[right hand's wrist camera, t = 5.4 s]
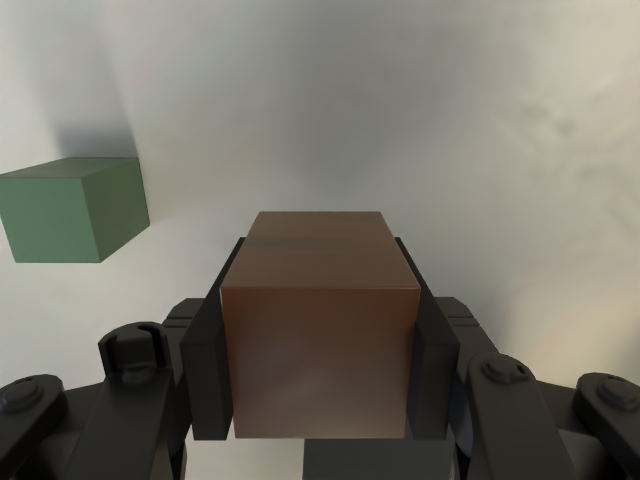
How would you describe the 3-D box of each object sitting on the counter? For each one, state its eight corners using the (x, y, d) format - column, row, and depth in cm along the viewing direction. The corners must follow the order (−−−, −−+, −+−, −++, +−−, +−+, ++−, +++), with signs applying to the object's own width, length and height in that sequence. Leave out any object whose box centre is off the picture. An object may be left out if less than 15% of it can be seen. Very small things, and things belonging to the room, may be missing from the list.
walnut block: (374, 316, 16) (405, 439, 10) (265, 316, 16) (234, 439, 10) (380, 211, 14) (421, 287, 8) (259, 211, 14) (218, 286, 8)
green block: (150, 225, 25) (100, 263, 20) (83, 225, 25) (14, 262, 20) (138, 157, 24) (80, 177, 18) (66, 157, 24) (-13, 177, 18)
